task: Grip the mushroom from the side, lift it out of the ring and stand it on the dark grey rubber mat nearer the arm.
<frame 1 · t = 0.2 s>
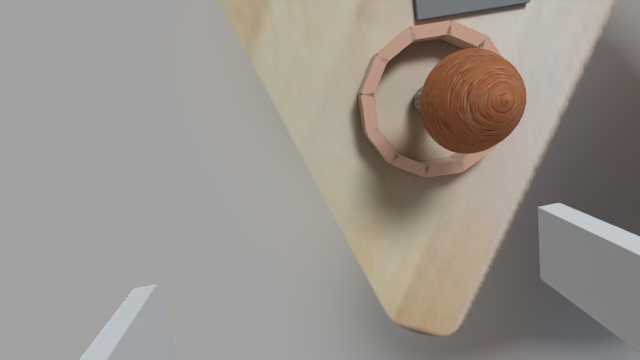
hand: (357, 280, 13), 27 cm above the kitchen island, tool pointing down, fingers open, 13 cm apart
ring: (429, 102, 39), on the kitchen island
mushroom: (428, 102, 39), resting in ring
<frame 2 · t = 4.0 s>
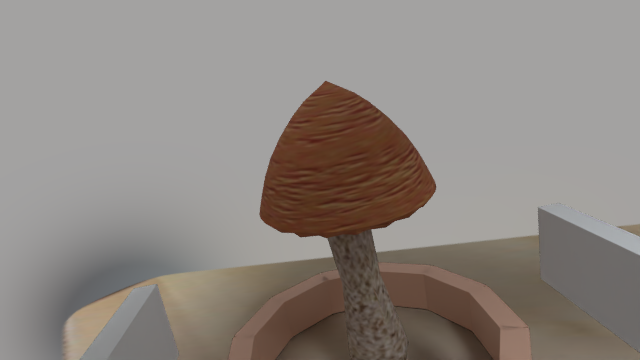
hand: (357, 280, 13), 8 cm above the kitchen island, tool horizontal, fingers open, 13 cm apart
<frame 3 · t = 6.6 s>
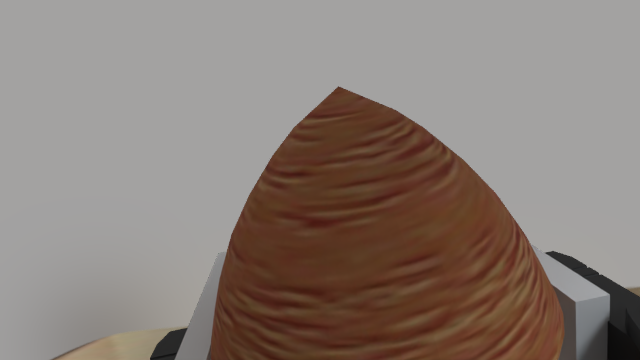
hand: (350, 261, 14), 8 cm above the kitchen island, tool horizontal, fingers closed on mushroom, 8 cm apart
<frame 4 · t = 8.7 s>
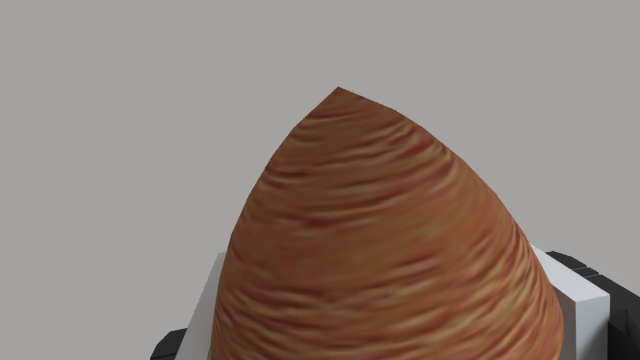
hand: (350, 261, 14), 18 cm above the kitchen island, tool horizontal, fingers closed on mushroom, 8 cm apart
when the fingers open (10 cm above the kitchen island, at t = 11.0 s): mushroom drops 1 cm, resting on mat.
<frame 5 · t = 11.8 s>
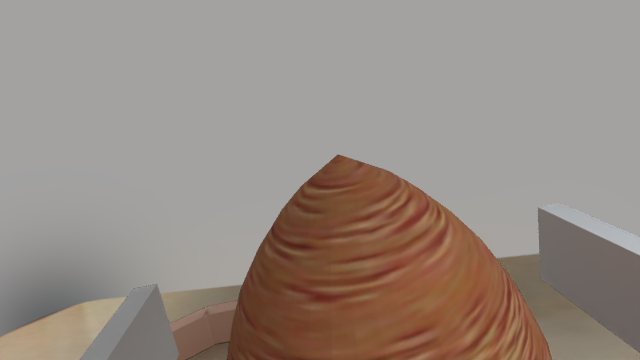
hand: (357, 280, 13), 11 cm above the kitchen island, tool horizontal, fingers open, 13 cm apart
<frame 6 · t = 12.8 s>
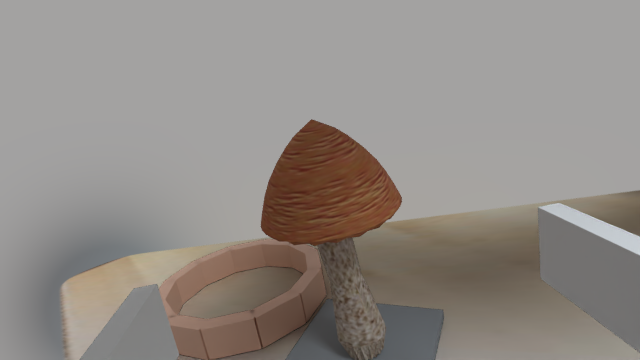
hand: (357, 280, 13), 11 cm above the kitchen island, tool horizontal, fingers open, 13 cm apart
ring: (245, 300, 34), on the kitchen island
mushroom: (360, 356, 24), resting on mat
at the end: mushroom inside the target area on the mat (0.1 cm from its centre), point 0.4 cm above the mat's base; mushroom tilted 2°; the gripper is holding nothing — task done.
